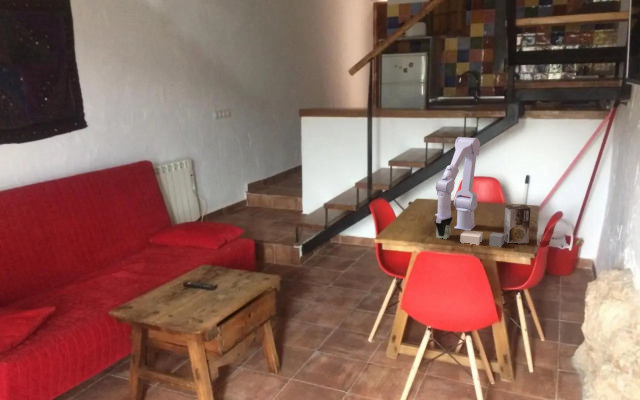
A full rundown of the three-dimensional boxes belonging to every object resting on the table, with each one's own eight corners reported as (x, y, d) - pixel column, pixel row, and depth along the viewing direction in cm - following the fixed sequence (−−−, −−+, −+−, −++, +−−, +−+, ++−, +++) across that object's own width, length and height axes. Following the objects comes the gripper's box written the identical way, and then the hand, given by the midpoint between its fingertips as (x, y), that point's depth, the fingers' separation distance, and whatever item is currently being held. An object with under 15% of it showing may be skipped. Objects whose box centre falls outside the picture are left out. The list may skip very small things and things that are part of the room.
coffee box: (522, 238, 228) (525, 204, 224) (528, 243, 222) (531, 207, 218) (502, 239, 228) (504, 204, 224) (508, 244, 222) (510, 208, 218)
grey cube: (492, 242, 224) (492, 232, 223) (503, 244, 222) (504, 233, 220) (489, 246, 220) (489, 235, 219) (501, 248, 217) (501, 236, 216)
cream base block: (464, 238, 232) (464, 230, 231) (482, 240, 228) (482, 232, 227) (460, 243, 225) (460, 234, 224) (478, 245, 221) (479, 237, 220)
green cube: (439, 234, 237) (440, 224, 236) (450, 236, 234) (450, 226, 233) (436, 237, 233) (436, 227, 232) (446, 239, 230) (447, 229, 229)
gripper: (441, 201, 238) (440, 228, 241) (430, 208, 226) (429, 237, 229) (455, 202, 234) (454, 230, 237) (445, 210, 222) (444, 239, 226)
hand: (443, 234), depth 233 cm, fingers closed on green cube, 5 cm apart
